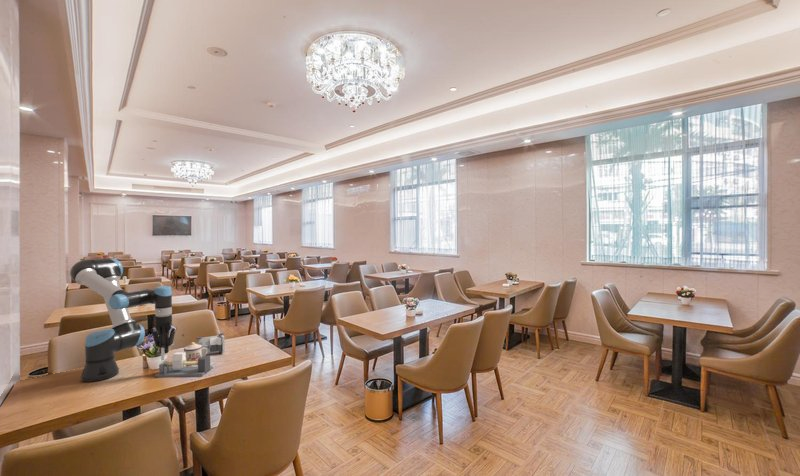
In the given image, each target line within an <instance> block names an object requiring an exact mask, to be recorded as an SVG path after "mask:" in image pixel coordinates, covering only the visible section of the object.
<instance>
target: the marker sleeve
mask: <svg viewBox="0 0 800 476" xmlns="http://www.w3.org/2000/svg"><path fill="white" fill-rule="evenodd" d="M171 362H172V365H171V367H172V369H182V368H183V367H187V365H183V364H182V362H186V352H184V351H180V352H179V351H177V352H175V353H172V360H171Z"/></svg>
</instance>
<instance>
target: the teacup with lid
mask: <svg viewBox="0 0 800 476" xmlns="http://www.w3.org/2000/svg"><path fill="white" fill-rule="evenodd" d="M195 343H196V342H194V341H193V342H191V343H190V344H188V345H186V346H185V347H184V348H183V352H186V362H193V361H198V359H199V358H201V357H202V356H207V355H208V354H207V349H206V348H202V346H201V345H199V344H195ZM202 349H205V350H206V352H205V354H203V355H202V353H201V350H202Z"/></svg>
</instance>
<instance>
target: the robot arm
mask: <svg viewBox="0 0 800 476" xmlns="http://www.w3.org/2000/svg"><path fill="white" fill-rule="evenodd" d="M123 274H124V267H123V265H122V262H120V261H119V260H118V259H116V258H106V257H104V258H96V259H95V258H94V259H83V260H79V261H78V262H76V263H74V265H73V266H72V267H71V268H70V271H69V275H70V278H71V279H72V281H74V283H76V284H78V285H81V286H85V287H87V288H88V289H90V290H91V291H94V292H95V293H96V294H98V295H99V296H101V297H103V300H104V303H105V306H106V309H107V312H108V314H109V318H110V321H111V324H112V326H111V327H110V328H104V329H100V330H99V329H98V330H96V331H93V332H90V333H89V334H87V335H86V337H85V339H84V340H85V342H84V346H85V347H84V354H85V357H84V358H85V364H84V367H83V369H82V373H81V375H80V381H81V382H87V383H89V382H98V381H103V380H107V379H110V378H113V377H115V376H117V375H118V374H119V373H120V368H119V367H118V364H117V361H116V359H115V353H117V352H120V351H123V350H126V349H130V348H133V347H137V346H139V345H141V344H142V343H143V341H144V339H145V336H146V332H145V331H146V330H145V327H144V326H143V325H142V324H137V322H136V320H134V319H133V318H132V316H131V314H130V311H129V308H132V307H138V306H144V305H149V304H150V305H152V304H154V315H155V317H154V322H155V323H154V324H155V325H154V327H152V328H150V330H149V332H151V334H152V338H153V341H154V345H155V347H157V348H159V354H160V360H161V361H165V360H167V359H168V353H169V348H170V346H172V345H173V343H174V339H175V334H176V332H177V330H178V327H174V326H173V315H172V314H173V307H172V305H173V304H172V301H173V300H172V299H173V296H172V294H173V293H172V287H171V286H170V285H163V286H162V285H161V286H156V287H154V289H150V288H145V289H144V288H143V289H141V290H137V291H131V292H128V291H126V290H124V289H123V288H122V287H121V284H120V282H119V281H120V280H121V276H123Z"/></svg>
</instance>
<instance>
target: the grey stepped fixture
mask: <svg viewBox="0 0 800 476" xmlns="http://www.w3.org/2000/svg"><path fill="white" fill-rule="evenodd" d="M182 364H183V365H186V366H185V367H183V368H182V369H172V361H169V360H166V361H165V360H164V361H162V362H161V363H160V364H159V365H158V367H159V369H158V373H156V374H155V378H178V377H179V378H180V377H181V378H182V377H189V378H190V377H191V378H192V377H203V376H205V375H206V374H208V373H209V372H210V371H211V370H213V369H214V366H212V365H211V355H205V356H202V357H201V358H199V359H198V361H193V362H182Z"/></svg>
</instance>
